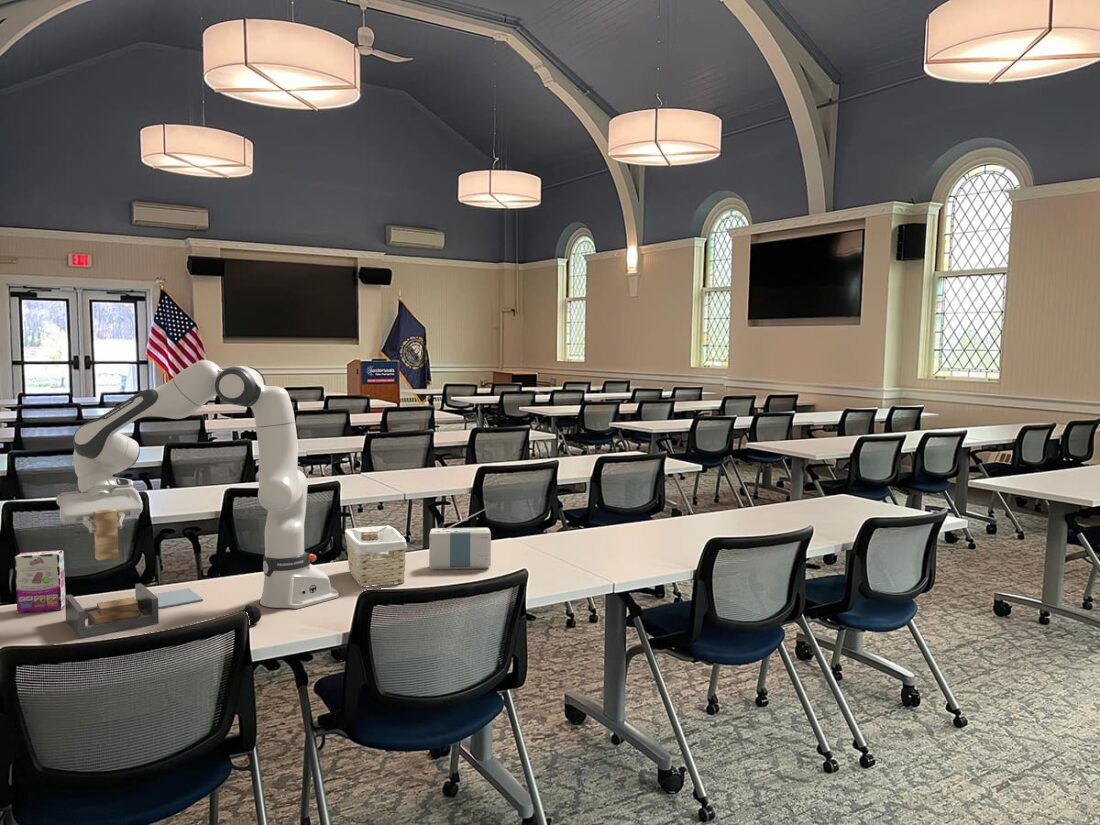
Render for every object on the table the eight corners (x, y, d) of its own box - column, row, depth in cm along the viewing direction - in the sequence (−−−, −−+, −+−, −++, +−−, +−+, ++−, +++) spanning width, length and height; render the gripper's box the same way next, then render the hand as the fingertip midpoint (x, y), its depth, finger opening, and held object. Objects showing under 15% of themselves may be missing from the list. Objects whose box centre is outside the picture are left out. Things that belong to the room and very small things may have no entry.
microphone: (188, 651, 208) (264, 626, 220) (187, 633, 206) (264, 608, 218) (181, 640, 212) (256, 615, 224) (179, 622, 209) (256, 598, 222)
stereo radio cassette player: (429, 571, 275) (429, 513, 273) (429, 565, 283) (429, 508, 281) (490, 570, 277) (491, 512, 276) (489, 563, 286) (489, 507, 284)
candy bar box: (66, 605, 234) (64, 549, 233) (61, 610, 230) (59, 553, 228) (22, 608, 231) (20, 551, 230) (16, 613, 226) (14, 556, 225)
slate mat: (188, 590, 250) (188, 588, 250) (202, 601, 240) (202, 599, 239) (139, 598, 241) (139, 596, 241) (151, 610, 231) (151, 608, 230)
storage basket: (408, 584, 259) (408, 539, 258) (357, 590, 252) (357, 543, 251) (391, 566, 281) (391, 524, 280) (343, 571, 274) (343, 528, 273)
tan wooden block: (115, 555, 225) (113, 509, 224) (118, 557, 223) (116, 510, 222) (95, 557, 222) (93, 511, 221) (98, 560, 219) (96, 513, 218)
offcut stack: (136, 617, 226) (136, 595, 225) (143, 623, 220) (143, 601, 220) (87, 626, 218) (87, 604, 217) (93, 633, 212) (93, 610, 212)
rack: (141, 607, 233) (140, 583, 233) (158, 623, 220) (158, 598, 219) (65, 620, 221) (64, 595, 221) (79, 638, 207) (78, 611, 207)
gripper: (55, 486, 219) (63, 528, 213) (138, 479, 233) (148, 518, 226) (53, 500, 223) (61, 541, 216) (134, 492, 236) (144, 531, 230)
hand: (106, 529), depth 221 cm, fingers closed on tan wooden block, 5 cm apart
